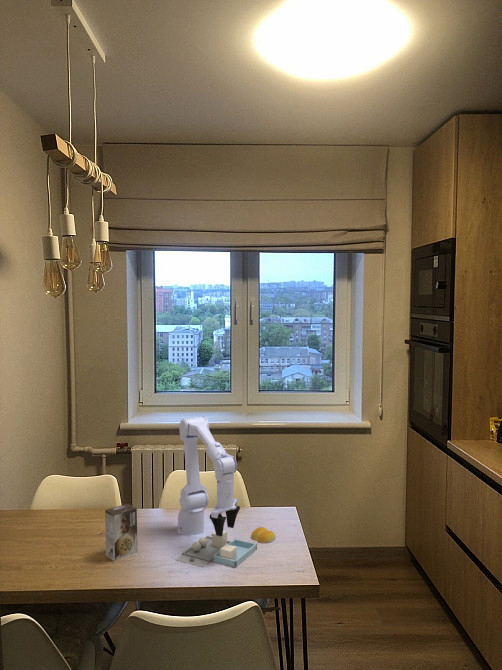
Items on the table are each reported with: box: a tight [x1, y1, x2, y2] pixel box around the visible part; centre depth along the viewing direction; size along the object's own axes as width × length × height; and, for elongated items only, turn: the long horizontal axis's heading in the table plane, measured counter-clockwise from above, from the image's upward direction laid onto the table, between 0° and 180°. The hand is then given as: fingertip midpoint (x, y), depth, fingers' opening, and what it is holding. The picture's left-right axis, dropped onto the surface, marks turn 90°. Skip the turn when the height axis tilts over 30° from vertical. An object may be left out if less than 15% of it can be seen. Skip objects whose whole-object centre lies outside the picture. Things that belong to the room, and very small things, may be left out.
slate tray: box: [174, 535, 232, 568], centre depth 181 cm, size 12×20×1 cm, turn 152°
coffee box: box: [104, 503, 139, 562], centre depth 179 cm, size 9×6×16 cm
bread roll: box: [250, 526, 276, 544], centre depth 192 cm, size 8×9×4 cm
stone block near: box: [220, 544, 237, 560], centre depth 173 cm, size 4×4×4 cm
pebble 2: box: [197, 536, 207, 547], centre depth 184 cm, size 3×3×3 cm
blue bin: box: [212, 538, 258, 569], centre depth 178 cm, size 9×15×2 cm, turn 152°
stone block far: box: [211, 530, 228, 548], centre depth 186 cm, size 4×4×4 cm
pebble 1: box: [191, 541, 201, 552], centre depth 181 cm, size 3×3×3 cm
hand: (225, 531), depth 178 cm, fingers open, 7 cm apart
